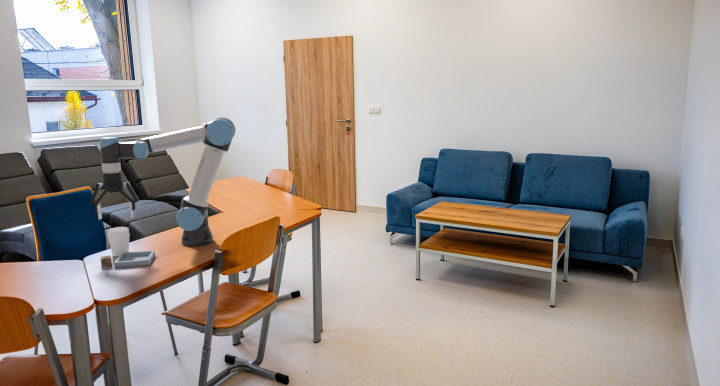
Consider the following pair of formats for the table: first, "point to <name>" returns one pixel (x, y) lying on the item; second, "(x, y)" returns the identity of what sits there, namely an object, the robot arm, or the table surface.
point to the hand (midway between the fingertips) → (116, 217)
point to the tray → (134, 259)
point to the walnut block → (106, 261)
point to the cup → (119, 240)
